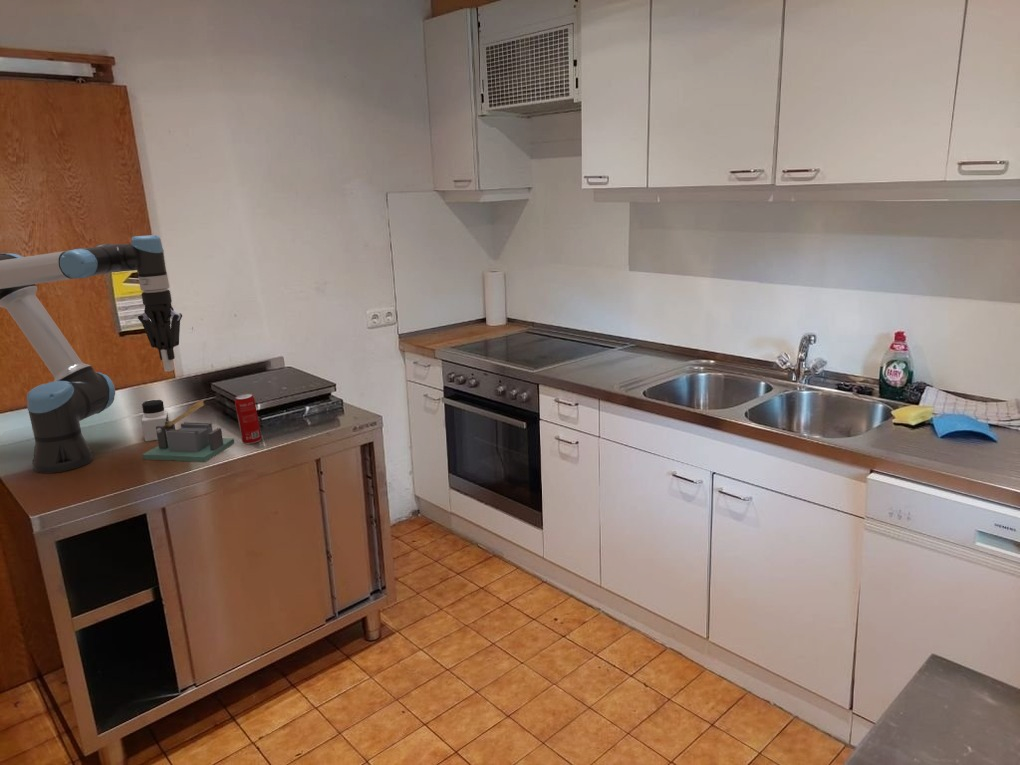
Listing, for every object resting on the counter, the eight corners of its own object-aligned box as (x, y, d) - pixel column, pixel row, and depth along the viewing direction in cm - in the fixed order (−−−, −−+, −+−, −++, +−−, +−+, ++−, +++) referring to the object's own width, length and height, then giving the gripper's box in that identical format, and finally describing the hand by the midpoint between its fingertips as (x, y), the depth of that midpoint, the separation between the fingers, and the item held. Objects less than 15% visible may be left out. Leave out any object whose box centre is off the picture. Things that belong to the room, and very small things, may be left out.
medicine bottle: (169, 438, 236) (163, 402, 233) (144, 441, 234) (138, 405, 230) (170, 431, 243) (165, 396, 239) (146, 435, 240) (140, 399, 237)
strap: (161, 431, 222) (158, 427, 222) (168, 427, 226) (165, 423, 225) (198, 407, 218) (195, 403, 217) (205, 404, 221) (202, 399, 221)
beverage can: (265, 438, 233) (259, 392, 229) (253, 445, 227) (247, 398, 223) (248, 437, 235) (243, 391, 231) (236, 444, 229) (230, 397, 225)
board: (143, 459, 219) (138, 432, 216) (176, 440, 234) (172, 415, 232) (204, 462, 215) (200, 434, 213) (234, 443, 230) (230, 417, 228)
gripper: (126, 293, 210) (141, 373, 216) (167, 291, 207) (181, 373, 213) (143, 289, 217) (157, 367, 223) (183, 287, 214) (197, 367, 221)
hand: (169, 370), depth 218 cm, fingers closed
